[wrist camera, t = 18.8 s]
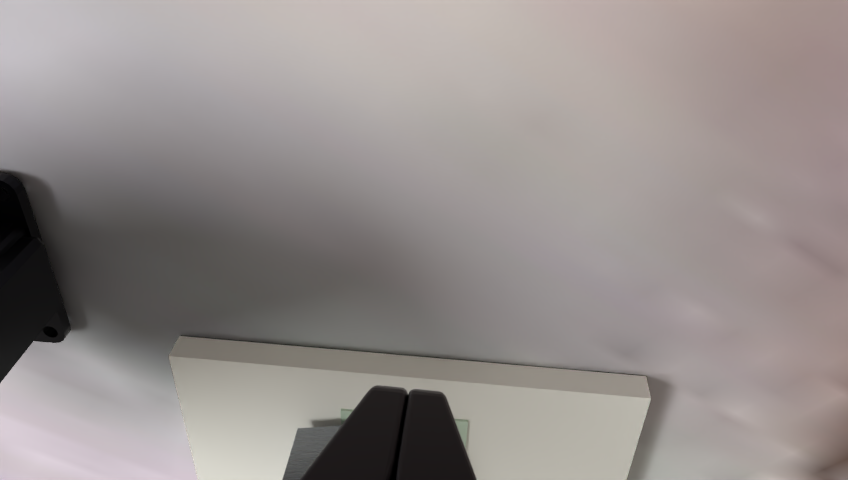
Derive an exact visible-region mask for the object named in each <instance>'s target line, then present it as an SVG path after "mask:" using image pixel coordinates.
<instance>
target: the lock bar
mask: <svg viewBox="0 0 848 480" xmlns="http://www.w3.org/2000/svg"><path fill="white" fill-rule="evenodd" d="M340 427H341V425H340V426H325V427H311V428H298V429H297V433H296V436H295V439H294V443H293V446H292V449H291V453H290V456H289V459H288V463H287V466H286V469H285V472H284V476H283V479H282V480H300V478H301V477H302V476H303V474H304V473H305V472H306V471H307V469H308V468H309V467H310V465H311V464H312V463H313V462H314V460H315V459H316V458H317V456H318V455H319V454H320V452H321V451H322V450H323V449H324V447H325V446H326V445H327V443H328V442H329V441H330V440H331V438H332V437H333V436H334V434H335V433H336V432H337V431H338V429H339V428H340Z"/></svg>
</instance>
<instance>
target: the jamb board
mask: <svg viewBox="0 0 848 480" xmlns="http://www.w3.org/2000/svg"><path fill="white" fill-rule="evenodd" d="M168 357H169V361H170V365H171V369H172V374H173V378H174V382H175V386H176V390H177V395H178V399H179V403H180V407H181V411H182V416H183V420H184V424H185V428H186V432H187V437H188V441H189V445H190V449H191V453H192V458H193V462H194V466H195V470H196V474H197V479H198V480H282V479H283V476H284V472H285V469H286V466H287V463H288V459H289V456H290V453H291V449H292V446H293V443H294V439H295V436H296V433H297V429H298V428H311V427H325V426H340V425H342V424H343V423H344V422H345V420H346V419H347V418H348V416H349V415H350V414H351V412H352V411H353V410H354V409H355V407H356V406H357V405H358V403H359V402H360V401H361V400H362V398H363V397H364V396H365V394H366V393H367V392H368V391H369V390H370V389H371V388H372V387H373V386H376V385H381V386H392V387H402V388H404V389H406V390H407V392H408V394H409V392H410V391H411V390H412V389H422V390H432V391H440V392H442V393H444V395H445V396H446V398H447V400H448V403H449V406H450V408H451V411H452V414H453V417H454V419H455V422H456V425H457V427H458V430H459V433H460V435H461V438H462V441H463V443H464V446H465V449H466V452H467V454H468V457H469V460H470V462H471V465H472V468H473V470H474V473H475V476H476V479H477V480H627V476H628V473H629V470H630V467H631V463H632V460H633V457H634V453H635V450H636V447H637V444H638V440H639V437H640V434H641V430H642V427H643V424H644V421H645V417H646V414H647V411H648V407H649V404H650V401H651V395H650V391H649V387H648V382H647V378H646V376H638V375H626V374H615V373H603V372H591V371H580V370H568V369H557V368H545V367H533V366H522V365H510V364H499V363H487V362H475V361H464V360H452V359H441V358H429V357H418V356H406V355H394V354H383V353H371V352H360V351H348V350H336V349H325V348H313V347H302V346H290V345H278V344H267V343H255V342H244V341H232V340H220V339H209V338H197V337H186V336H179V338H178V339H177V341H176V343H175V345H174V347H173V349H172V350H171V352H170V354H169V356H168Z"/></svg>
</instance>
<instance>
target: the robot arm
mask: <svg viewBox="0 0 848 480" xmlns="http://www.w3.org/2000/svg"><path fill="white" fill-rule="evenodd" d="M1 187H2V188H4V189H5V190H7V192H8V193H9V194H8V193H6V192H4V191H3V190H2V188H1ZM70 330H71V328H70V323H69V320H68V317H67V314H66V311H65V308H64V305H63V301H62V298H61V295H60V292H59V289H58V286H57V283H56V280H55V277H54V274H53V271H52V268H51V265H50V262H49V259H48V256H47V253H46V250H45V247H44V245H43V242H42V239H41V236H40V233H39V230H38V227H37V224H36V221H35V218H34V215H33V212H32V209H31V206H30V203H29V200H28V197H27V194H26V191H25V188H24V186H23V185H22V183H21V182H20V181H19V180H18V179H17V178H16V177H14V176H12V175H11V174H7V173H1V172H0V383H1V381H2V380H3V379H4V377H5V376H6V375H7V374H8V372H9V371H10V370H11V369H12V367H13V366H14V365H15V363H16V362H17V361H18V360H19V358H20V357H21V356H22V355H23V353H24V352H25V351H26V350H27V348H28V347H29V346H30V344H31V343H32V342H33V341H40V342H52V343H57V342H61V341H63V340H64V338H65V337H66V336H67V334H68V333H69V331H70ZM300 480H477V479H476V476H475V473H474V470H473V468H472V465H471V462H470V460H469V457H468V454H467V452H466V449H465V446H464V443H463V441H462V438H461V435H460V433H459V430H458V427H457V425H456V422H455V419H454V417H453V414H452V411H451V408H450V406H449V403H448V400H447V398H446V396H445V395H444V393H442V392H440V391H432V390H422V389H412V390H411V391H410V392H409V394H408V392H407V390H406V389H404V388H402V387H392V386H381V385H376V386H373V387H372V388H371V389H370V390H369V391H368V392H367V393H366V394H365V396H364V397H363V398H362V400H361V401H360V402H359V403H358V405H357V406H356V407H355V409H354V410H353V411H352V412H351V414H350V415H349V416H348V418H347V419H346V420H345V422H344V423H343V424H342V425H341V427H340V428H339V429H338V431H337V432H336V433H335V434H334V436H333V437H332V438H331V440H330V441H329V442H328V443H327V445H326V446H325V447H324V449H323V450H322V451H321V452H320V454H319V455H318V456H317V458H316V459H315V460H314V462H313V463H312V464H311V465H310V467H309V468H308V469H307V471H306V472H305V473H304V474H303V476H302V477H301V478H300Z"/></svg>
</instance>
